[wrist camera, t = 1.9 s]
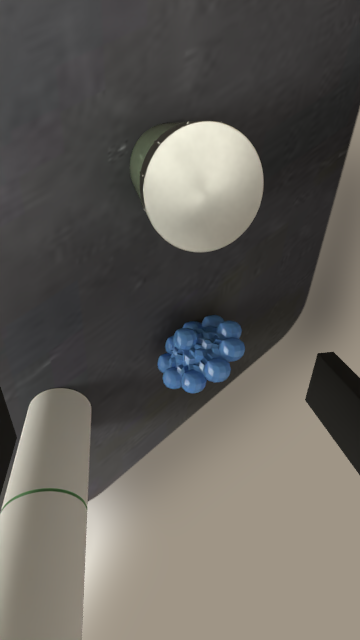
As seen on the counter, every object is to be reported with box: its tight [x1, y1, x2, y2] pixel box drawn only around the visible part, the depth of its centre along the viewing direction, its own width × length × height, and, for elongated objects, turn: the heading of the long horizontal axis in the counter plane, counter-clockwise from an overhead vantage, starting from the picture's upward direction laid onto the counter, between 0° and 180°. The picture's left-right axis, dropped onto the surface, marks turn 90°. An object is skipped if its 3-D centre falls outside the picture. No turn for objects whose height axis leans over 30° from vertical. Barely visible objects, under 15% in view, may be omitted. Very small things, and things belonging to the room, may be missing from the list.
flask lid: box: [139, 121, 264, 252], centre depth 24 cm, size 8×8×3 cm
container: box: [0, 388, 91, 640], centre depth 35 cm, size 9×9×30 cm
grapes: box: [158, 315, 245, 393], centre depth 40 cm, size 12×7×12 cm, turn 128°
